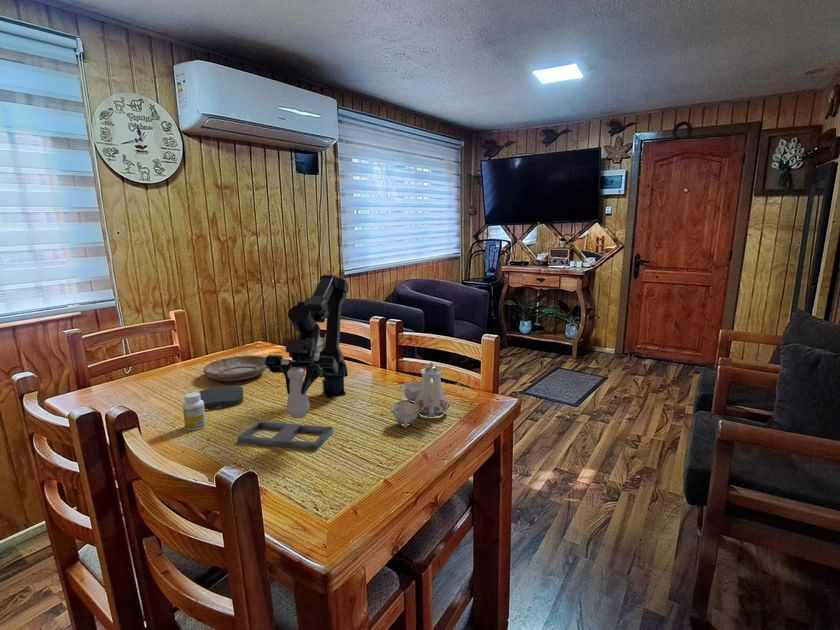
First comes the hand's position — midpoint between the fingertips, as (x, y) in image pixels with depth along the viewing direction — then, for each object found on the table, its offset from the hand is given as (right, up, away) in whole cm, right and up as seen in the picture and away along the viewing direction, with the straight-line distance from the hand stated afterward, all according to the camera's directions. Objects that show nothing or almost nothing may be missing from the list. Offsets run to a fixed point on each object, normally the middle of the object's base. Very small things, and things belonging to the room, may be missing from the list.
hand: (295, 394), depth 116 cm
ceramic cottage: (-11, 0, +72) cm, 73 cm away
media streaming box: (-34, -8, +31) cm, 47 cm away
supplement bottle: (-32, -12, +12) cm, 36 cm away
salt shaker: (0, -6, +3) cm, 7 cm away
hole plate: (-4, -13, +5) cm, 14 cm away
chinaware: (+33, -10, +20) cm, 40 cm away
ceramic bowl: (-37, -3, +56) cm, 67 cm away
